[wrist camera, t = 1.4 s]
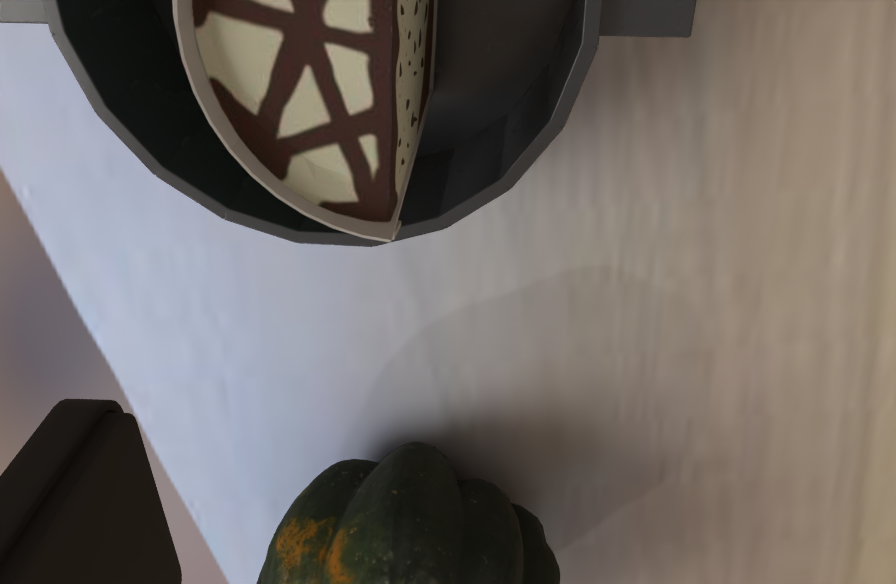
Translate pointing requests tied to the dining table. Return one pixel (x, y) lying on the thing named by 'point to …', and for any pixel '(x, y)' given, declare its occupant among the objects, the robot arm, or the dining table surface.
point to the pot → (447, 123)
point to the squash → (406, 528)
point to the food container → (317, 98)
